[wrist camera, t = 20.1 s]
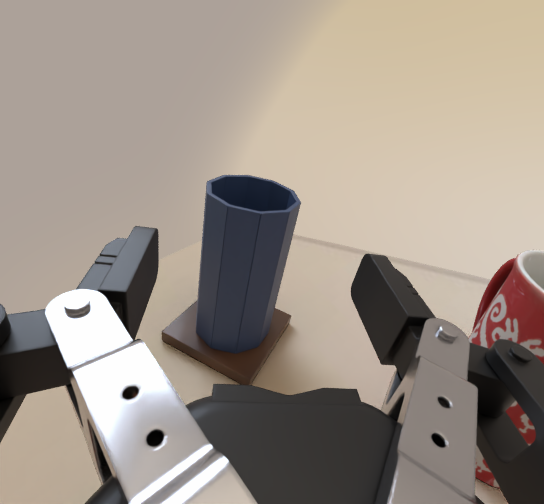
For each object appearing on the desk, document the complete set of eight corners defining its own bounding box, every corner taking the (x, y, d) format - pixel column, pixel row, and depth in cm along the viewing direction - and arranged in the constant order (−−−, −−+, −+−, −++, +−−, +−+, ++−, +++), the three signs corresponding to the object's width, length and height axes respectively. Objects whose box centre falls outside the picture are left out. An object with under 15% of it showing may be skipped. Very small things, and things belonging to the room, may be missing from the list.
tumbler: (179, 331, 25) (185, 189, 19) (222, 290, 30) (238, 168, 24) (244, 366, 23) (274, 224, 17) (278, 317, 28) (311, 193, 22)
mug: (578, 537, 19) (827, 405, 12) (423, 477, 20) (565, 325, 13) (503, 370, 29) (610, 249, 22) (406, 338, 31) (478, 214, 24)
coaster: (161, 340, 25) (161, 331, 25) (217, 289, 32) (218, 281, 31) (248, 388, 23) (250, 380, 22) (289, 323, 29) (291, 315, 29)
